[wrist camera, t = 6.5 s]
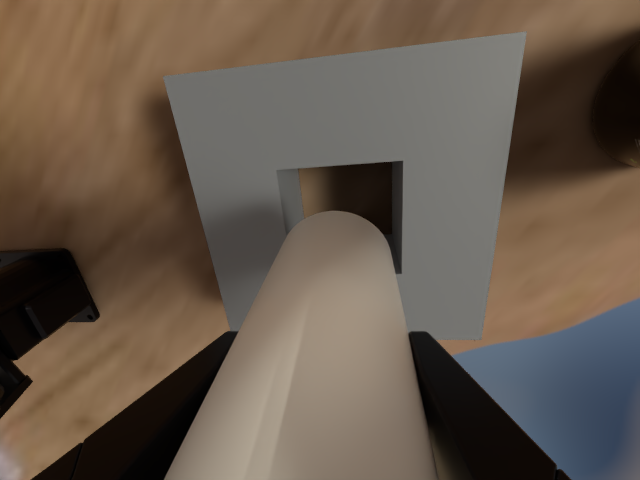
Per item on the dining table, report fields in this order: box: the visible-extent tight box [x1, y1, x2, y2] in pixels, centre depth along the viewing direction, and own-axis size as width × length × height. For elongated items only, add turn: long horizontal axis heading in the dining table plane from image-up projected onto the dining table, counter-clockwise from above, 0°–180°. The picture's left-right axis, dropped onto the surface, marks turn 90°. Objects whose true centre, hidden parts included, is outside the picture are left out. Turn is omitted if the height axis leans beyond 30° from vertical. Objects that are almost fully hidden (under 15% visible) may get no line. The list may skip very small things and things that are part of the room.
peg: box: [164, 211, 439, 480], centre depth 7 cm, size 4×4×10 cm
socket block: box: [163, 31, 527, 340], centre depth 17 cm, size 14×14×5 cm
